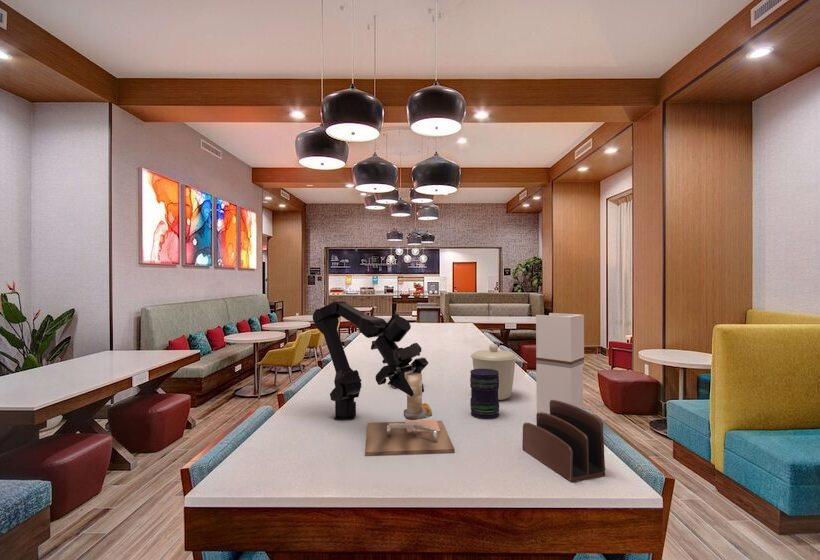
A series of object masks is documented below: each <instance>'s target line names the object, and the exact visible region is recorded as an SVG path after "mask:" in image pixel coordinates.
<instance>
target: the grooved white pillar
mask: <svg viewBox="0 0 820 560" xmlns="http://www.w3.org/2000/svg"><path fill="white" fill-rule="evenodd" d="M535 339H536V340H535V341H536V342H535V343H536V344H535V346H536V347H535V354H536V355H535V356H536V359H535V361H536V364H535V367H536V368H535V371H536V373H535V374H536V381H535V383H536V413H537V412H544V413H548V414H550V400H557V401H561V402H564V403H567V404H570V405H573V406H576V407H578V408H580V409H582V410H584V383H583V382H584V375H583V374H584V368H585V314H578V313H577V314H575V313H557V312H549V313H548V315H547V314H546V315H545V314H536V315H535Z"/></svg>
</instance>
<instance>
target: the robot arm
mask: <svg viewBox="0 0 820 560" xmlns="http://www.w3.org/2000/svg"><path fill="white" fill-rule="evenodd" d="M339 318H343V319H345V320H347V321H348V322H350V323H351V324H353V325H355V326H356V327H358V331H359V332H360V333H361V334H362V335H363V336H364V337H365V338H367V339H370V338H376V339H375V340H372V341H371V346H370V350H377V351H378V352H379V353H380V355H381V357H382V359H383V360H382V361H381V363H382V364H383V365H384V366H382V367H381V368H380V370H379V371H378V372H377V373H376V374H375V381H376V383H377V384H378V386H380V385H384V384H386V383H387V385H388V386H394V387H396V388H398V390H399V391H402V392H403V393H405V394H406V395H407V394H408V395H410V396H411V397H412V396H413V395H414V393H413V391H412V389H411V387H410V385H409V384H408V382H407V380H406V379H405V372H406V373H407V374H409V373H420V372H421V373H422V371H423V370H424V369H425V368H426V367H427V366H428V364H429V361H428V360H427V358H426V357H419V356H421V353H422V347H421V345H420V344H419V343H418V342H413V343H412V344H410V345H409V346H406V347H399V346H398V345H397V343H400V342H401V341H402V340H403V339H404V338H405V336H406V335H407V334H408V332H409V331H410V330H411V328H412V326H411V323H410V321H409V320H407V319H406V318H404V317H403V316H400V314H398V313H396V314H392V315H391V317H390V319H389V321H387V322H386V320H385V319H384V318H381V317H378V316H372V315H368V314H365V313H364V312H362V311H360V310H359V309H358V308H355V307H353V306H352V305H350V304H348V302H346V301H344V300H336V301H332V302H330V303H329V304H327V305H325V306H323V307H320V308H316V309H315V310H314V313H313V314H312V321H313V323H314V325H315V327H316V329H317V330H318V331H319V332H321V334H323V337H324V340H325V343H326V345H327V346H326V347H327V349H328V352H329V356H330V358H331V362H332V365H333V367H334V370H335V377H334V380H333V382H334V388H333V389H332V390H331V392H330V393H329V398H330V401H333V402H334V403H335V405H334V408H335V411H334V420H335V421H336V420H354V419H355V417H356V414H357V401H355V398H359V396H360V392H361V389H362V379H361V377H360V373H359V371H358V370H357V369H355V370H353V369H352V368H351V367H350V364H349V361H348V358H347V354H346V352H345V350H344V349H345V348H344V346H343V343H342V340H341V337H340V335H339V332H338V326H339V323H340V320H339ZM417 356H418V357H419V358H415V357H417ZM413 358H415V359H414V360H413ZM385 364H386V365H385ZM387 378H388V380H389V381H388V382H387ZM424 392H425V387H424V384H423V383H422V394H423V393H424Z"/></svg>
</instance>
